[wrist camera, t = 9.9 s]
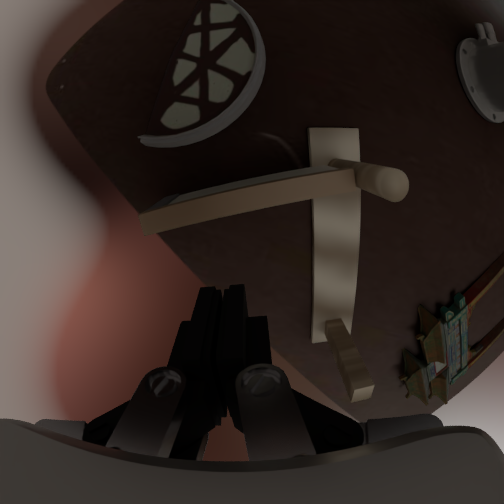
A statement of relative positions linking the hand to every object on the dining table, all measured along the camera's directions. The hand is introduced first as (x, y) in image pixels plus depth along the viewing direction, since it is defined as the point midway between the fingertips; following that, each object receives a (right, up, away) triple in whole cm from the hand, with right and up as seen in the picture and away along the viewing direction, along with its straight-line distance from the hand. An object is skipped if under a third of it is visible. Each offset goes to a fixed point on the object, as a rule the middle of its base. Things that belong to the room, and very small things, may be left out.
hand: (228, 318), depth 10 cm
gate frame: (+10, +3, +18) cm, 20 cm away
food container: (-2, +17, +12) cm, 21 cm away
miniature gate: (+38, -11, +25) cm, 47 cm away
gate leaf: (0, +9, +14) cm, 16 cm away
